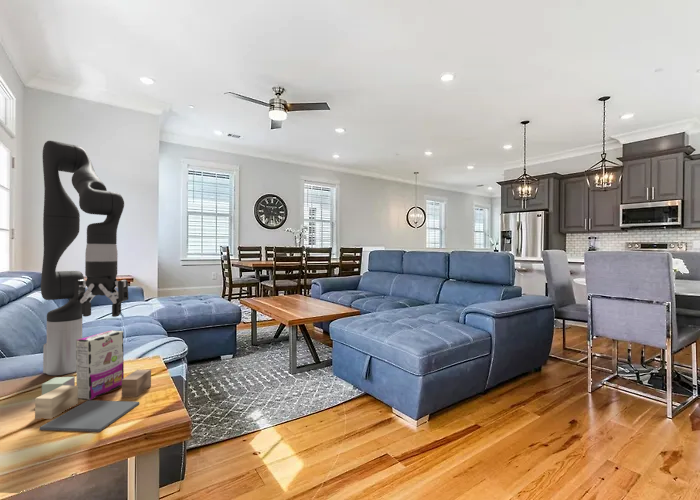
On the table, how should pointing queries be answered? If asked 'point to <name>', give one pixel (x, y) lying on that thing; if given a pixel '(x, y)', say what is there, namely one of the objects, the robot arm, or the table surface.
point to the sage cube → (57, 383)
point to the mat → (90, 416)
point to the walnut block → (136, 383)
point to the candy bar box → (99, 364)
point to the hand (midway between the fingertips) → (101, 316)
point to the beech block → (56, 401)
